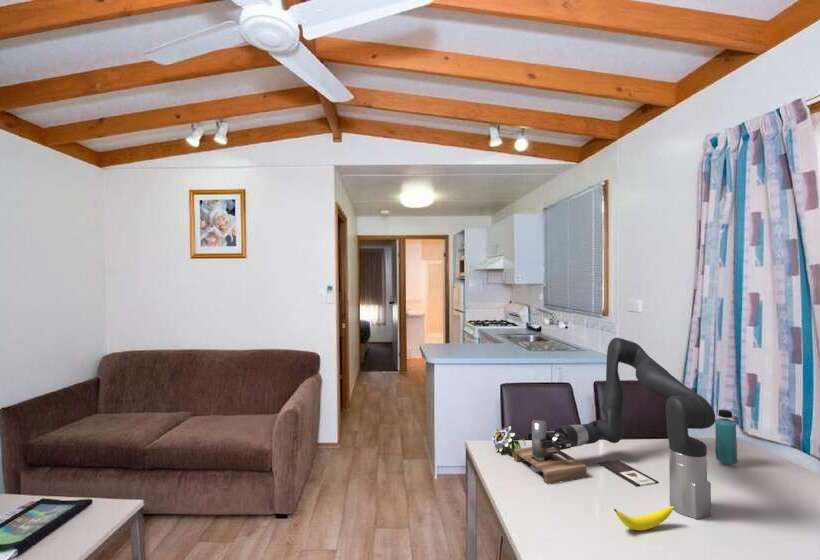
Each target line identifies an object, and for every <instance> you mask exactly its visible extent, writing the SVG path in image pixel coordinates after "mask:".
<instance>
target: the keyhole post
mask: <svg viewBox="0 0 820 560" xmlns="http://www.w3.org/2000/svg"><path fill="white" fill-rule="evenodd" d="M546 428H547V422H546V421H544V420H540V419H536V420H535V419H533V420H532V421H531V433H532V440H531V447H532V455H534V460H536V461H537V462H540V461H545V458H544V457H546V456H547V448H546V449H543V448H541V442H544V441H547V438H546ZM530 470H531V471H532V472H533V473H535V474H543V472H542V471H540V470H539V469H538V468H536V467H535V466H533V465H532V464H530Z"/></svg>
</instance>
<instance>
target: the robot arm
mask: <svg viewBox="0 0 820 560" xmlns="http://www.w3.org/2000/svg"><path fill="white" fill-rule="evenodd" d="M619 363H621V364H625V365H628V366H631V367H632V368H634V369H635V378H636V379H637V381H638V382H639V384H640V385H641V386H642V387H643V388H644V389H645V390H646V391H647V392H649V393H651V394H652V395H654V396H656V397H658V398H661V399H662V400H665V401H666V403H665V417H666V434H667V439H668V443H669V444H668V445H669V446H668V447H669V448H668V449H669V451H668V452H669V454H668V455H669V461H668V462H669V463H668V464H669V466H668V468H669V469H668V471H669V507H672V506H674V509H673V511H675V512H677V513H679V514H681V515H684V516H686V517H691V518H692V519H695V520H697V519H701V518H703V519H704V518H706V517H709V516H710V517H711V516H712V485H711V484H712V483H711V482H710V481H709V480H708V459H707V458H708V449H707V445H706V444H705V442H704V441H702V440H700V439H698V438H695V437H692V436H690V435H689V429H700V430H701V429H707V428H710V427H712V426H714V425H715V421H716V413H715V410H714V408H713V407H712V405H711V403H710V402H709V401H708V400H707V399H706V398H704V397H703V396H701V395H700V394H698V393H697V392H696V391H694V390H692V389H691V388H689V387H687V385H685V384H683V383H682V382H681V381H680V380H679V379H677V378H676V377H674V376H673V375H672V374H671V373H670V372H669V371H668V370H667V369H665V368H664V367H663V366H662V365H661V364H660V363H658V362H656V361H655V360H654V359H653V358H651V356H650V355H648V353H646V351H645V350H644V349H643V348H642V347H641V345H640V344H638V343H636V342H634V341H632V340H628V339H625V338H620V337H613V338H612V339H611V340H610V341H609V343H608V346H607V352H606V366H605V367H606V371H605V387H604V388H605V389H604V396H603V399H602V400H603V401H602V405H601V412H602V413H603V414H605V415H606V416H607V420H605V419H595V420H593V421H591V422H589V423H582V424H570V425H562V426H561V425H560V426H558V427H557V428H556V429H555V430H550V431H549V428H547V427H546V438H547V441H544V442H541V448H543V449H546V448H551V447H552V448H553V449H555V448H556V450H560V451H563V450H569V449H571V448H575V447H581V446H584V445H589V444H590V445H591V444H595V443H597V442H599V440H604V441H606V442H609V443H612V444H617V443H618V442H620V441H621V440H622V438H623V435H624V426H623V425H624V424H623V413H622V412H623V409H624V408H623V407H624V402H625V392H624V388H623V384H622V381H621V379H620V375H619ZM526 440H528V441H532V432H529V433H527V434H526Z"/></svg>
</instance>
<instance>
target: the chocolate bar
mask: <svg viewBox="0 0 820 560" xmlns="http://www.w3.org/2000/svg"><path fill="white" fill-rule="evenodd" d="M597 464H598V465H599V464H600V465H599V466H601V467H602V466H603V468H604V467H605V468H604V469H606V470H607V469H608V471H609V472H611V473H613V474H614V475H616V476H617V477H619V478H621V479H623V480H625V481H626V482H628V483H629V484H631V485H633V486H635V487H636V488H637V487H638V486H639V487H643V486H644V485H645V486H650V485H651V486H652V485H657V483H658V484H659V481H658V480H657V479H654V478H653V477H651V476H649V475H647V474H646V473H644V472H642V471H640V470H639V469H636V468H634V467H632V466H630V465H628V464H626V463H625V462H623V461H621V460H619V459H617V460H616V459H615V460H614V459H613V460H608V461H607V460H606V461H599V462H597ZM645 486H644V487H645Z"/></svg>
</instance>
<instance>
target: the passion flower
mask: <svg viewBox="0 0 820 560" xmlns="http://www.w3.org/2000/svg"><path fill="white" fill-rule="evenodd" d="M511 430H512V426H511V425H509V426H508V427H503V428H501V429H500V428H497V429H496V430H495V432H494V433H493V437H491V440H492V441H493V443H494V448H495V449H496V451H495V452H496V453H499V452H500V453H502V452H503V451H504V448H508V447H509V449H510V451H511V455H512V457H514V449H521V448H522V447H521V443H520V442H519V439H517V440H516V439H515V440H514V439H513V437H515V436H516V433H515V432H511ZM520 441H523V445H524V446H526V440H525V438H522V439H520Z"/></svg>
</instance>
